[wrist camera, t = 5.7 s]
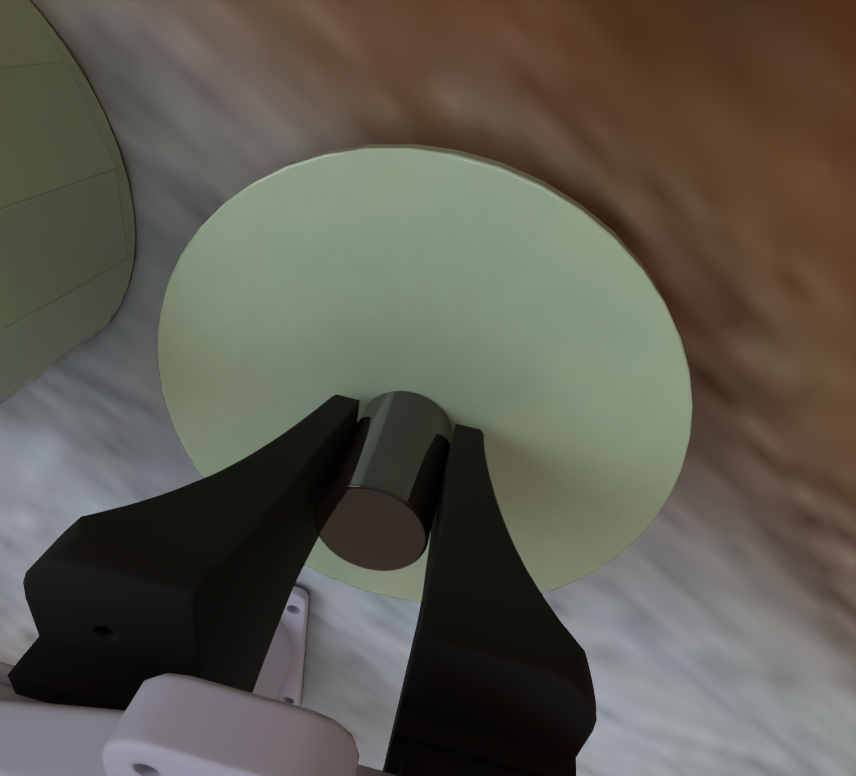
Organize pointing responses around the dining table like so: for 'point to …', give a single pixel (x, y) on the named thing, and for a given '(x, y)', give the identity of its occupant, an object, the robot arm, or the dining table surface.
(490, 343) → the lid
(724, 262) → the dining table surface
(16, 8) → the pot
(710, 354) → the dining table surface
